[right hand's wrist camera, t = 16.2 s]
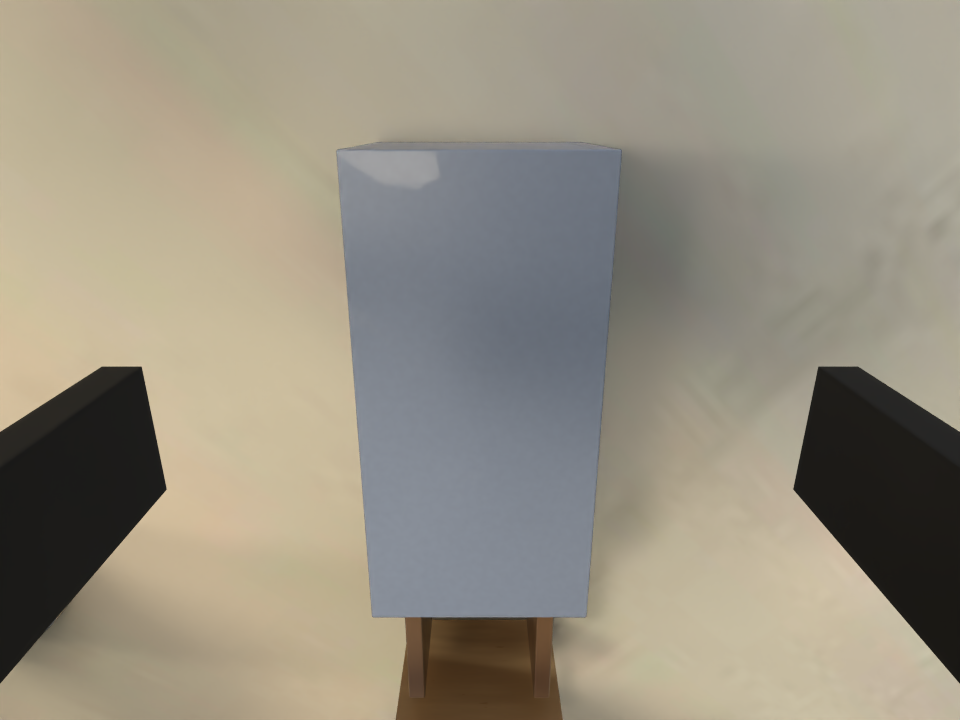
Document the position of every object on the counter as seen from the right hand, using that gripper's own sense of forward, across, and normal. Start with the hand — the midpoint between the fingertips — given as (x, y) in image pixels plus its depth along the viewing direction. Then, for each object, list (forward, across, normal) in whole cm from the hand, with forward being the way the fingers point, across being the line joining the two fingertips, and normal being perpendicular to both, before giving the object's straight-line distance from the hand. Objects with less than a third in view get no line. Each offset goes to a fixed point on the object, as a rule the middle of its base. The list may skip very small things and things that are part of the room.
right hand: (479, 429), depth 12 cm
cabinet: (+21, 0, -5) cm, 21 cm away
